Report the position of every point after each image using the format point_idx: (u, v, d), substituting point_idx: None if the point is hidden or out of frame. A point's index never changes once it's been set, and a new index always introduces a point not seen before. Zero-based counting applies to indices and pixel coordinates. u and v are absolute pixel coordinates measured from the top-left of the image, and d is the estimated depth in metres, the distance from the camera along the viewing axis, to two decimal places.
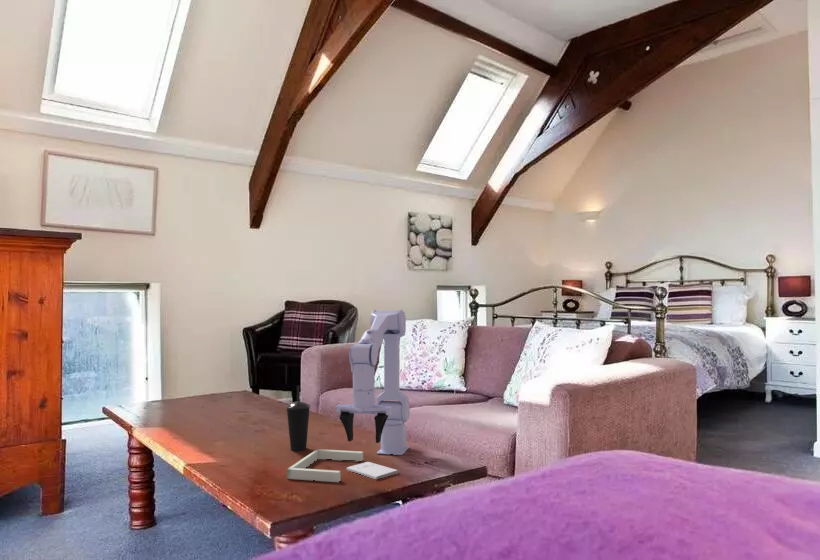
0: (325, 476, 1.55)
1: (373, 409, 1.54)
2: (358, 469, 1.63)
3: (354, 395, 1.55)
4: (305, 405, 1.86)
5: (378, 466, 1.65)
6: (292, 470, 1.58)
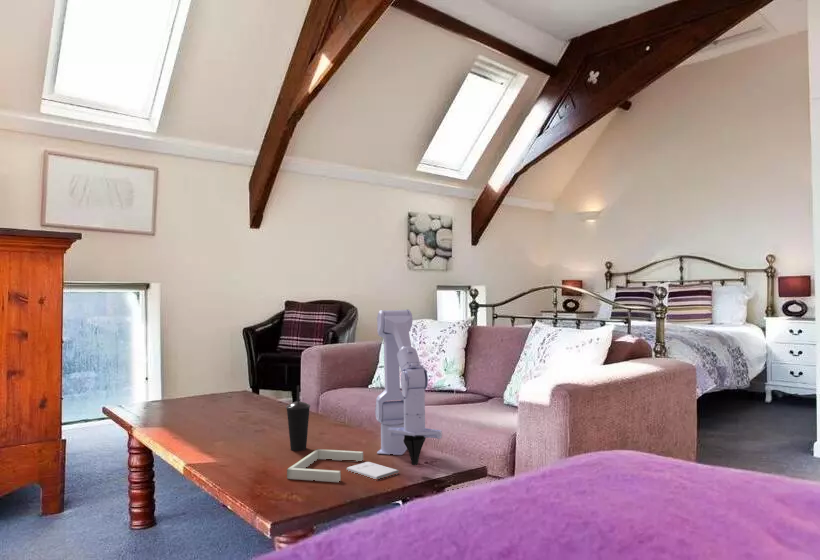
0: (325, 476, 1.55)
1: (424, 433, 1.58)
2: (358, 469, 1.62)
3: (405, 419, 1.59)
4: (305, 405, 1.86)
5: (378, 466, 1.65)
6: (292, 470, 1.58)
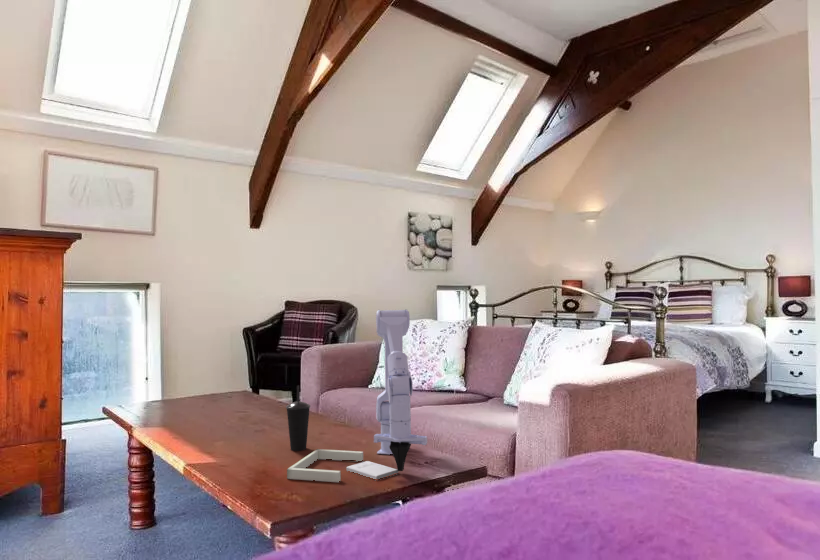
0: (325, 476, 1.55)
1: (410, 439, 1.59)
2: (358, 468, 1.62)
3: (391, 425, 1.60)
4: (305, 405, 1.86)
5: (378, 465, 1.65)
6: (292, 470, 1.58)
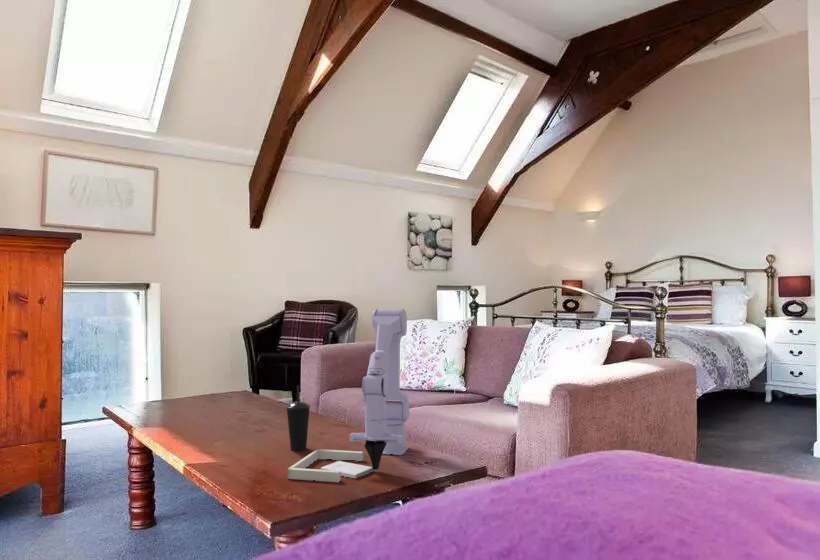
0: (325, 476, 1.55)
1: (385, 438, 1.60)
2: (333, 468, 1.62)
3: (366, 424, 1.62)
4: (305, 405, 1.86)
5: (352, 464, 1.66)
6: (292, 470, 1.58)
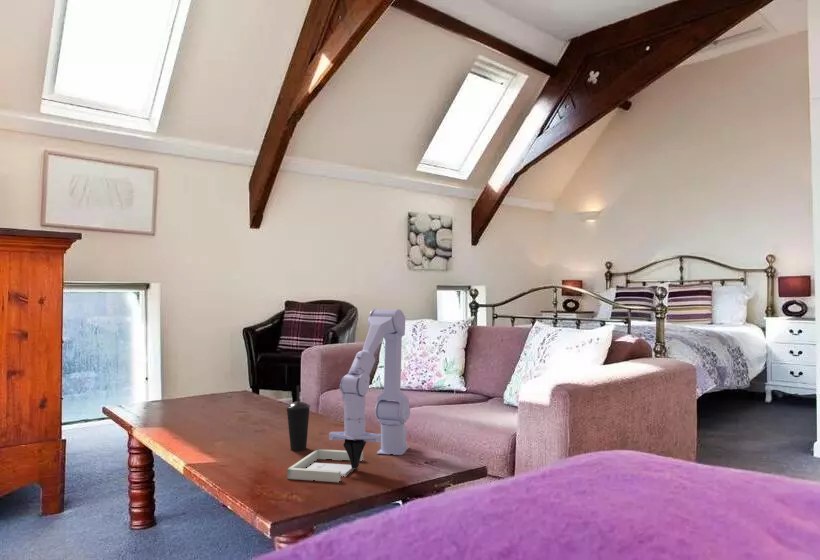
0: (325, 476, 1.55)
1: (363, 437, 1.62)
2: None
3: (345, 423, 1.63)
4: (305, 405, 1.86)
5: (332, 464, 1.67)
6: (292, 470, 1.58)
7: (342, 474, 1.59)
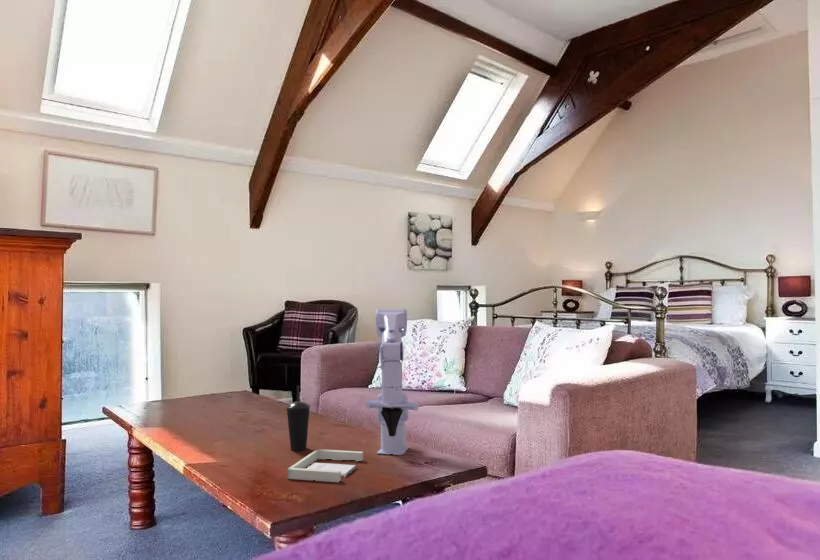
0: (325, 476, 1.55)
1: (401, 405, 1.61)
2: None
3: (383, 391, 1.62)
4: (305, 405, 1.86)
5: (332, 464, 1.67)
6: (292, 470, 1.58)
7: (342, 474, 1.59)
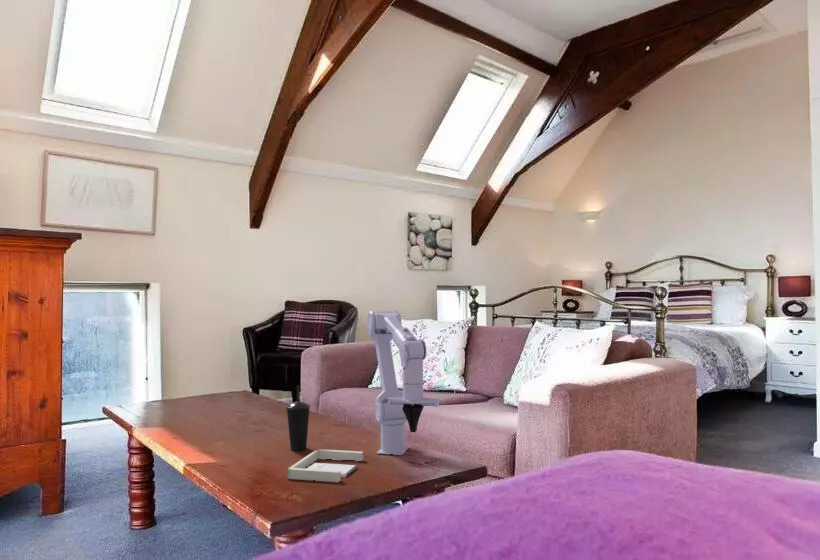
0: (325, 476, 1.55)
1: (422, 401, 1.65)
2: None
3: (404, 388, 1.66)
4: (305, 405, 1.86)
5: (332, 465, 1.67)
6: (292, 470, 1.58)
7: (342, 474, 1.59)
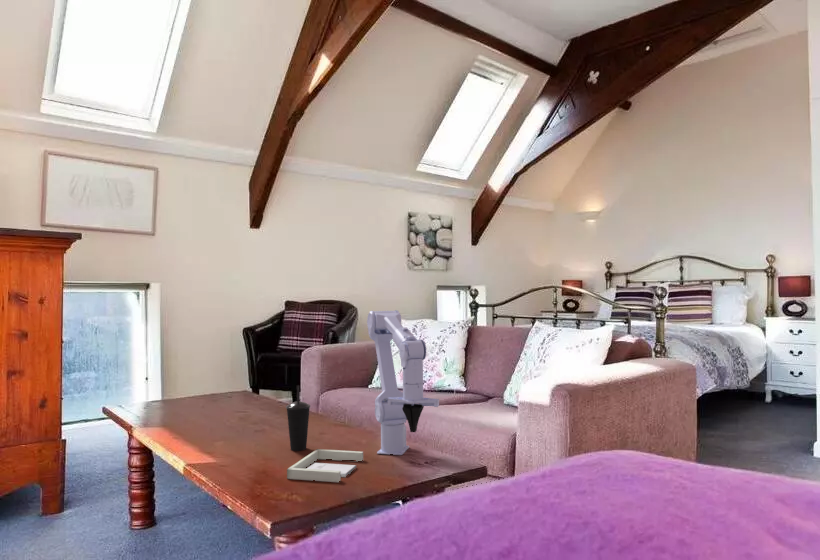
0: (325, 476, 1.55)
1: (422, 401, 1.65)
2: None
3: (404, 388, 1.66)
4: (305, 405, 1.86)
5: (332, 465, 1.67)
6: (292, 470, 1.58)
7: (342, 474, 1.59)
